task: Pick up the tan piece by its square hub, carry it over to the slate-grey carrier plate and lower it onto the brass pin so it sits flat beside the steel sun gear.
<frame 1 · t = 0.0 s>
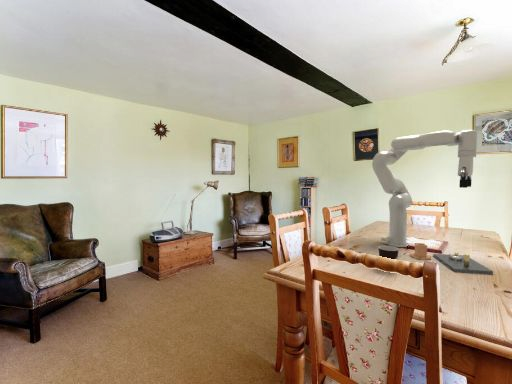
hand: (465, 187, 141), 37 cm above the table, tool pointing down, fingers open, 9 cm apart
coffee mug: (389, 268, 128), on the table
carrier: (460, 264, 131), on the table
tan piece: (420, 257, 143), on the table
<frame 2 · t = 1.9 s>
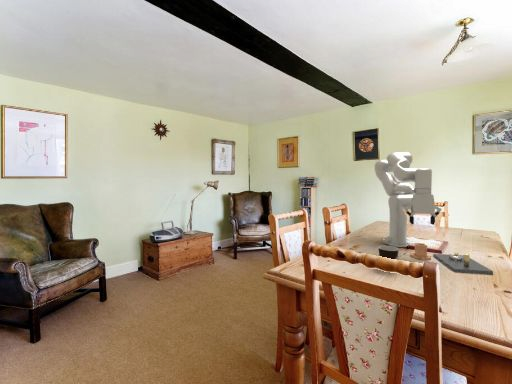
hand: (422, 224, 142), 18 cm above the table, tool pointing down, fingers open, 9 cm apart
nothing on the table moved.
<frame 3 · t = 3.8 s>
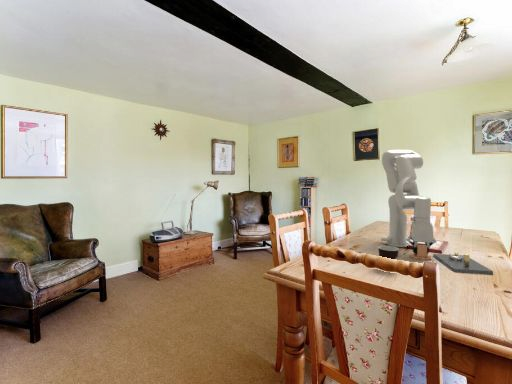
hand: (420, 253, 143), 2 cm above the table, tool pointing down, fingers closed on tan piece, 4 cm apart
tan piece: (420, 257, 143), on the table, touching gripper
everything else where it was.
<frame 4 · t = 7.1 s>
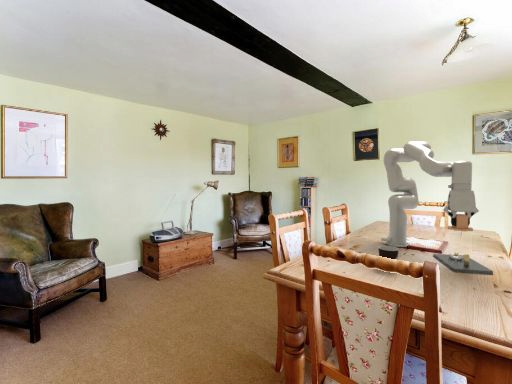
hand: (460, 225, 127), 20 cm above the table, tool pointing down, fingers closed on tan piece, 4 cm apart
tan piece: (460, 229, 127), point 18 cm above the table, touching gripper
everything else where it was.
when the fingers open (4 cm above the table, at t = 10.4 s): tan piece stays where it is, resting on carrier.
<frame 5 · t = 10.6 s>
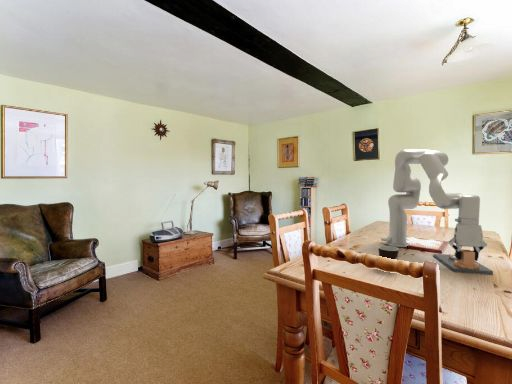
hand: (466, 259, 126), 5 cm above the table, tool pointing down, fingers open, 6 cm apart
tan piece: (466, 265, 126), point 1 cm above the table, touching carrier
everything else where it was.
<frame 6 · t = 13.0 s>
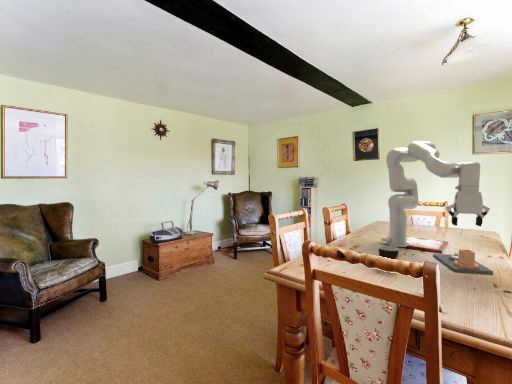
hand: (466, 225, 125), 20 cm above the table, tool pointing down, fingers open, 9 cm apart
nothing on the table moved.
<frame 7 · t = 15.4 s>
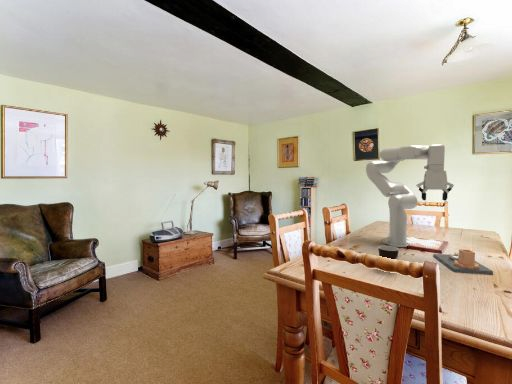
hand: (434, 200, 143), 30 cm above the table, tool pointing down, fingers open, 9 cm apart
nothing on the table moved.
at the end: tan piece 0.0 cm from the target spot on the carrier, point 1.5 cm above the carrier's base; tan piece tilted 0°; the gripper is holding nothing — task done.
